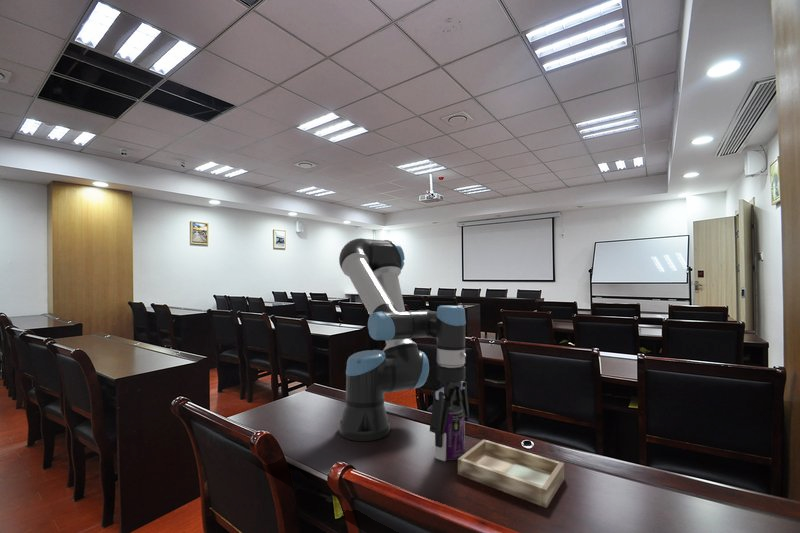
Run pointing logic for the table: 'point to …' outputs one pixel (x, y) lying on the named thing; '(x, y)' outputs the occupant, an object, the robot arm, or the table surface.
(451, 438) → the beverage can
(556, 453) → the table surface
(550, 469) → the crate
